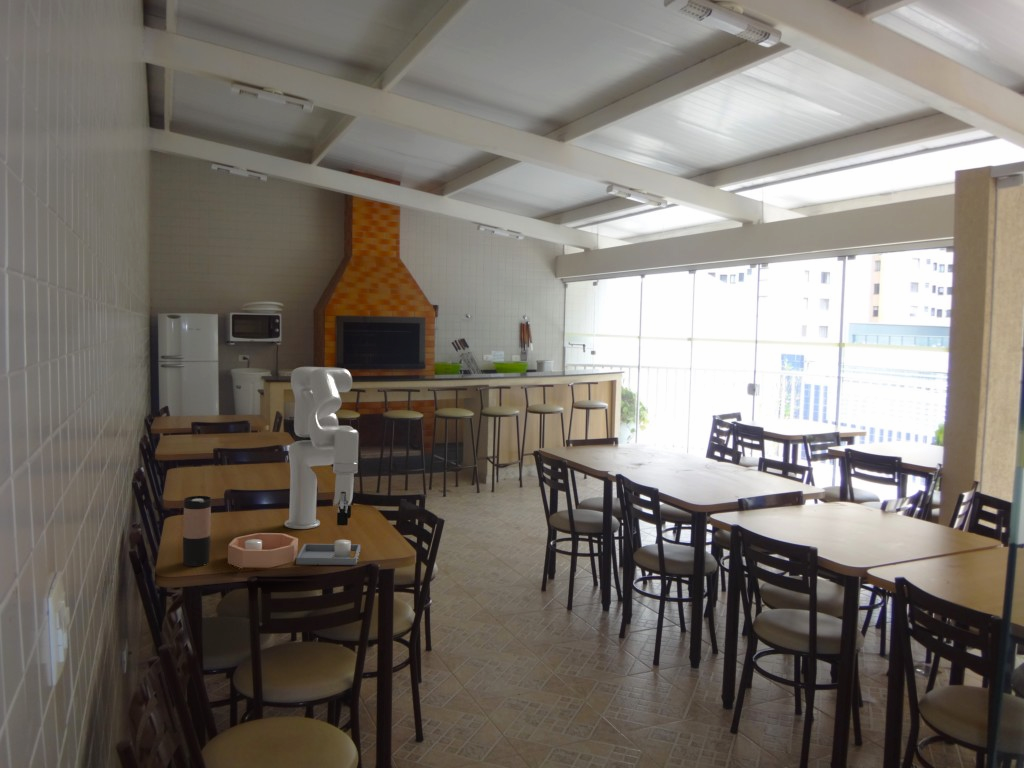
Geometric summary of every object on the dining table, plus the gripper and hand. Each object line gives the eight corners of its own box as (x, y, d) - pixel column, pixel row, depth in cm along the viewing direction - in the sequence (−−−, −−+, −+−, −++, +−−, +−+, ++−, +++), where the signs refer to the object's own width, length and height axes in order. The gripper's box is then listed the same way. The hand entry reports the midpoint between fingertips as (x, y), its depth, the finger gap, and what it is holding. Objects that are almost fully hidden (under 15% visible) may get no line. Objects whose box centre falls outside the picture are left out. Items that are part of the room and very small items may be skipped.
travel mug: (188, 559, 222) (189, 495, 221) (213, 559, 223) (214, 496, 222) (178, 566, 215) (179, 500, 214) (204, 567, 215) (206, 501, 214)
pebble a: (246, 554, 227) (247, 539, 227) (263, 554, 228) (263, 539, 227) (242, 559, 222) (243, 543, 222) (259, 559, 223) (260, 543, 222)
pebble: (335, 554, 231) (335, 539, 231) (351, 554, 232) (351, 539, 232) (333, 559, 226) (333, 543, 226) (349, 559, 227) (350, 544, 227)
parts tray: (304, 552, 235) (304, 543, 235) (360, 552, 237) (360, 544, 237) (296, 566, 220) (296, 557, 220) (355, 567, 222) (356, 558, 222)
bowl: (239, 550, 234) (239, 532, 233) (300, 551, 236) (301, 533, 236) (222, 569, 214) (223, 550, 214) (289, 570, 217) (290, 551, 216)
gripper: (336, 463, 235) (335, 515, 236) (329, 472, 218) (328, 528, 219) (360, 463, 236) (358, 515, 237) (355, 472, 219) (353, 528, 220)
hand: (344, 521), depth 228 cm, fingers open, 9 cm apart
